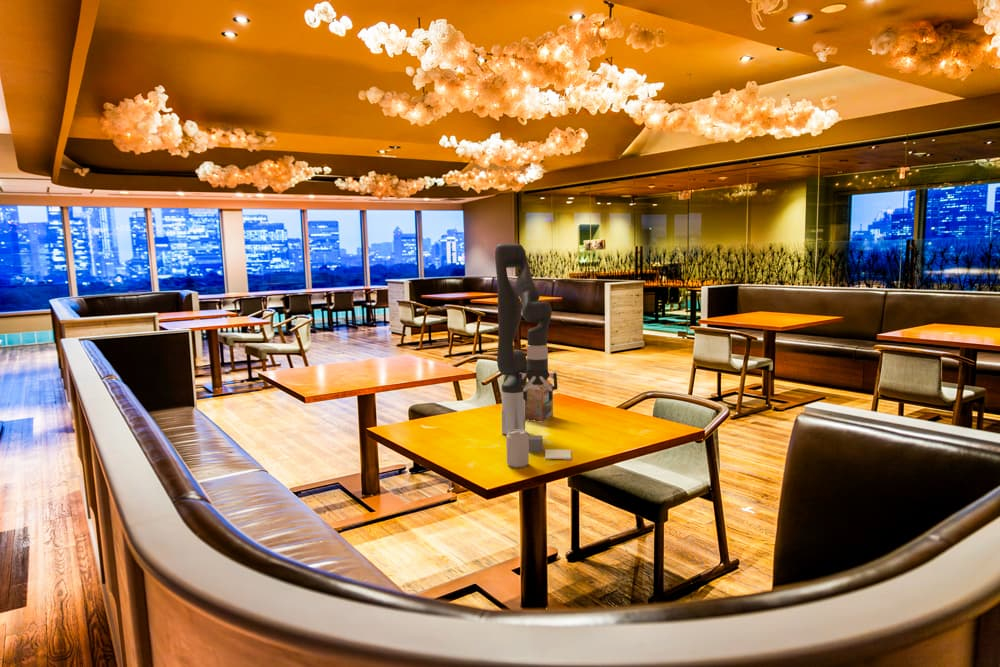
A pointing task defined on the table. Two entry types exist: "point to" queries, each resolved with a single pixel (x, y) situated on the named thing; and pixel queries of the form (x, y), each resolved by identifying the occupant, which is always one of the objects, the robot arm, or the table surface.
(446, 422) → the table surface
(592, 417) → the table surface
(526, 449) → the can
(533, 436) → the cube
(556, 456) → the mat
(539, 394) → the milk carton
